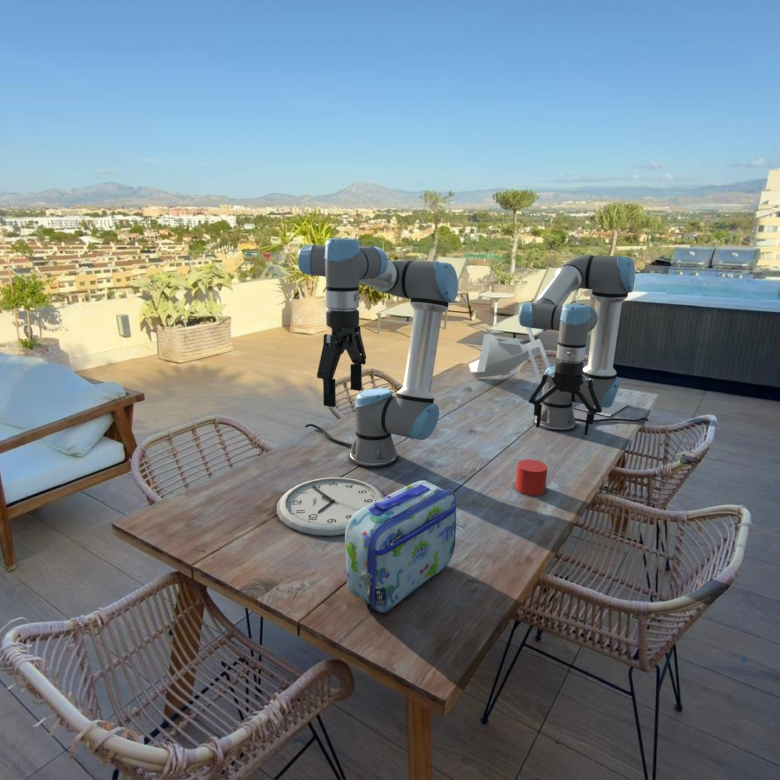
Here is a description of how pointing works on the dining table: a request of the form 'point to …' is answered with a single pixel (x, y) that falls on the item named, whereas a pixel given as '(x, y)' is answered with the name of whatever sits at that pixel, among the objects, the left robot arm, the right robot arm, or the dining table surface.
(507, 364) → the white plastic object
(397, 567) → the lunch box
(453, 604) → the dining table surface
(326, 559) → the dining table surface
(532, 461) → the canister
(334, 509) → the wall clock
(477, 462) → the dining table surface
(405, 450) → the dining table surface
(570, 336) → the right robot arm
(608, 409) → the invitation card
